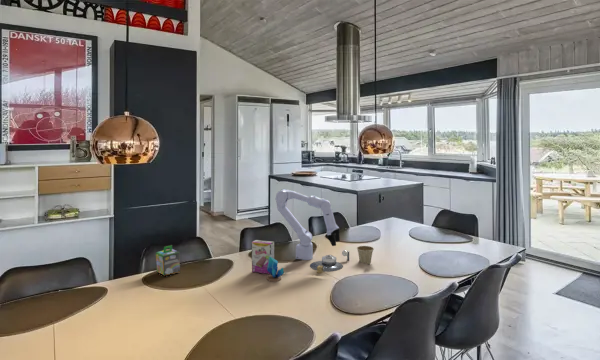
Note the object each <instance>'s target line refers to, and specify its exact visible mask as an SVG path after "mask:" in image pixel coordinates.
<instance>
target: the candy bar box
mask: <svg viewBox="0 0 600 360" xmlns="http://www.w3.org/2000/svg"><path fill="white" fill-rule="evenodd" d="M269 257H272V258H273V259H275V241H270V240H260V239H254V240H253V241H251V273H258V274H266V275H271V274H270V273H269V272H268V271H267V266H268V260H269Z"/></svg>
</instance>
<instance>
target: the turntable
mask: <svg viewBox="0 0 600 360" xmlns="http://www.w3.org/2000/svg"><path fill="white" fill-rule="evenodd" d="M309 268H310V269H312V270H314V271H316V273H317V274H323V273H325V272H326V273H327V272H336V271H340V270H341V269H343V268H344V264H343V263H341V262H338V261H336V264H335V265H324V264H322V260H317V261H313V262H311V263H310V264H309Z"/></svg>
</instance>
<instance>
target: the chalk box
mask: <svg viewBox="0 0 600 360" xmlns="http://www.w3.org/2000/svg"><path fill="white" fill-rule="evenodd" d="M155 262H156V273H157V272H159V273H161V274H163V275H166V274H170V273H173V272H178V271H180V272H181V260H180V251H179V250H175V249H173V244H170V245H165V246H163V250H160V251H157V252H155Z"/></svg>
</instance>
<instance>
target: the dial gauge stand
mask: <svg viewBox="0 0 600 360" xmlns="http://www.w3.org/2000/svg"><path fill="white" fill-rule="evenodd" d="M341 255H342V256H344V257H346V258H347V259H346V260H347V261H350V251H349V250H346V249H344V250H343V251H342V253H341Z"/></svg>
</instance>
